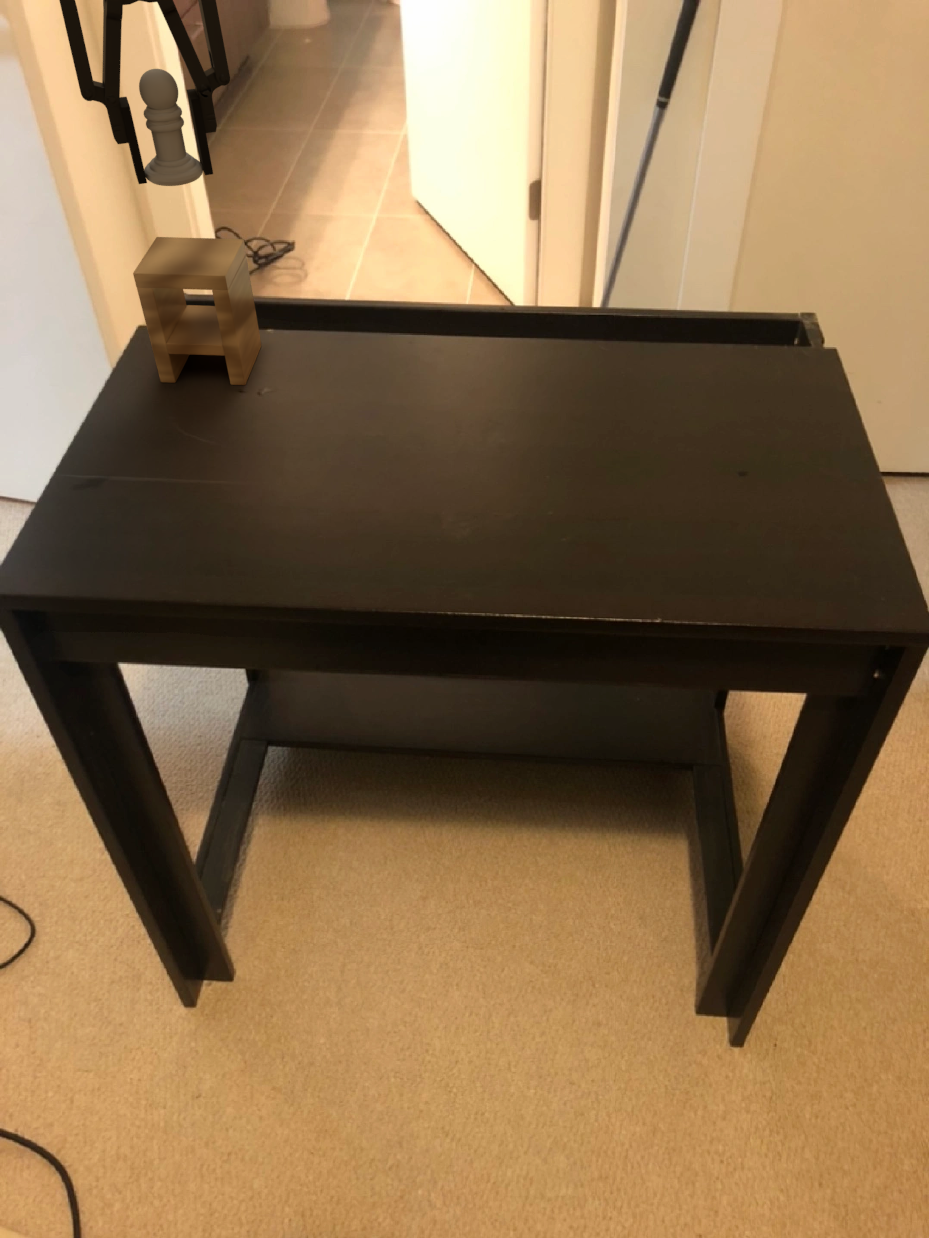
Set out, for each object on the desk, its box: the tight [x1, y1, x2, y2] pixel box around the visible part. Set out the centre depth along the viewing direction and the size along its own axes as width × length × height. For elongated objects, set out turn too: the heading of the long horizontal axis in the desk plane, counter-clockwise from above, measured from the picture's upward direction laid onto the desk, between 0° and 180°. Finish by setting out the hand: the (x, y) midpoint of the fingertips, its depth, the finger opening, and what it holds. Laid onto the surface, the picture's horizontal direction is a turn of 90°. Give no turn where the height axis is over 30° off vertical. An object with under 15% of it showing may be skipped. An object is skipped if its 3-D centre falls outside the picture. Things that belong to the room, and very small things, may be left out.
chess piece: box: [138, 68, 204, 187], centre depth 88 cm, size 5×5×9 cm
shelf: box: [132, 236, 262, 386], centre depth 101 cm, size 9×8×12 cm
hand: (174, 173), depth 91 cm, fingers closed on chess piece, 5 cm apart
